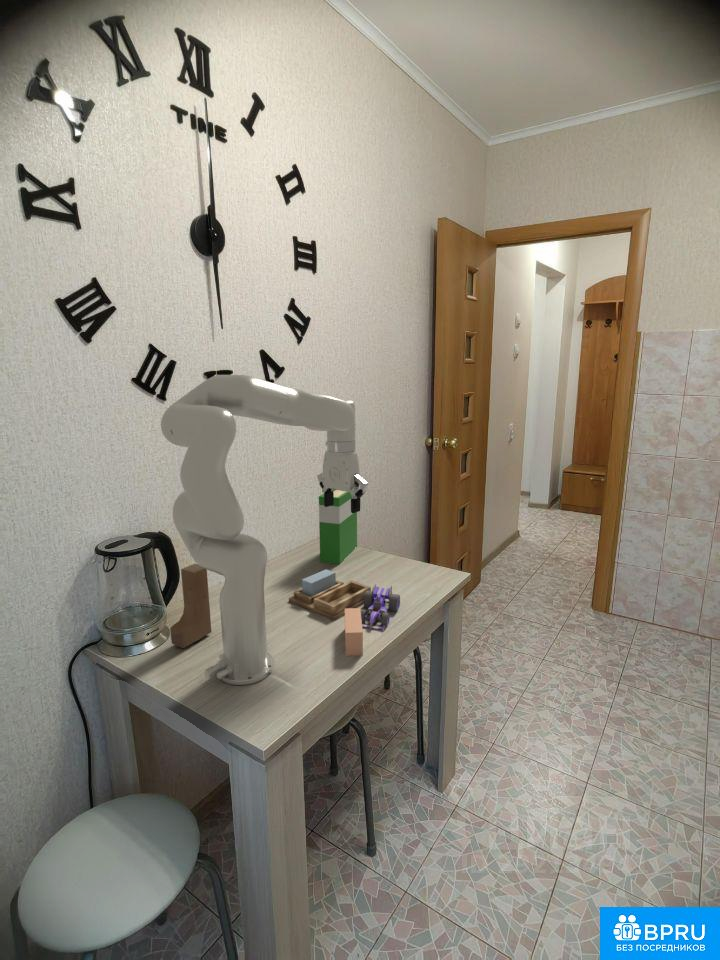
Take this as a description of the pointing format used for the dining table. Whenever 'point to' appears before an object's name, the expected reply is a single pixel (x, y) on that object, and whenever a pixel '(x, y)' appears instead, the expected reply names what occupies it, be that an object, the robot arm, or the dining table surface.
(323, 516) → the hardback book
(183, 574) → the wooden block
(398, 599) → the toy race car
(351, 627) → the salmon orange rectangular block
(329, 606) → the jig
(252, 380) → the robot arm
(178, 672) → the dining table surface
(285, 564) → the dining table surface
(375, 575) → the dining table surface
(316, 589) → the light blue block
